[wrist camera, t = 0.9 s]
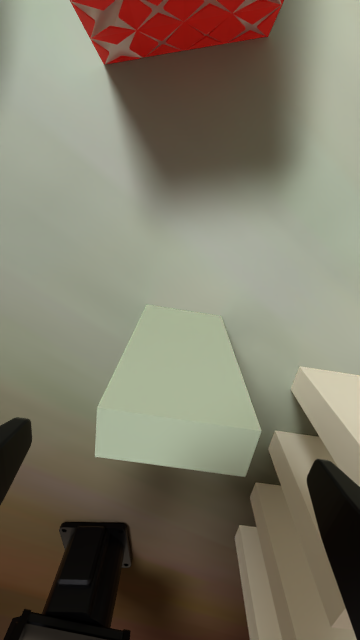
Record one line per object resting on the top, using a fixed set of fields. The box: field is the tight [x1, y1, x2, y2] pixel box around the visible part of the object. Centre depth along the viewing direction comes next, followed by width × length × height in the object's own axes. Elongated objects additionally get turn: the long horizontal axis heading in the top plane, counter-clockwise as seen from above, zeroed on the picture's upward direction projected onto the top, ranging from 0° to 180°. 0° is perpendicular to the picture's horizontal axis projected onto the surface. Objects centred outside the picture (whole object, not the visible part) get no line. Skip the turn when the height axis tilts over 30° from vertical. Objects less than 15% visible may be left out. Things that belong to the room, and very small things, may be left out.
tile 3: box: [268, 431, 353, 630], centre depth 16 cm, size 2×5×10 cm, turn 81°
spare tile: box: [95, 305, 261, 477], centre depth 13 cm, size 2×5×10 cm, turn 81°
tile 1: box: [235, 525, 282, 640], centre depth 21 cm, size 2×5×10 cm, turn 81°
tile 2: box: [250, 482, 357, 640], centre depth 19 cm, size 2×5×10 cm, turn 81°
